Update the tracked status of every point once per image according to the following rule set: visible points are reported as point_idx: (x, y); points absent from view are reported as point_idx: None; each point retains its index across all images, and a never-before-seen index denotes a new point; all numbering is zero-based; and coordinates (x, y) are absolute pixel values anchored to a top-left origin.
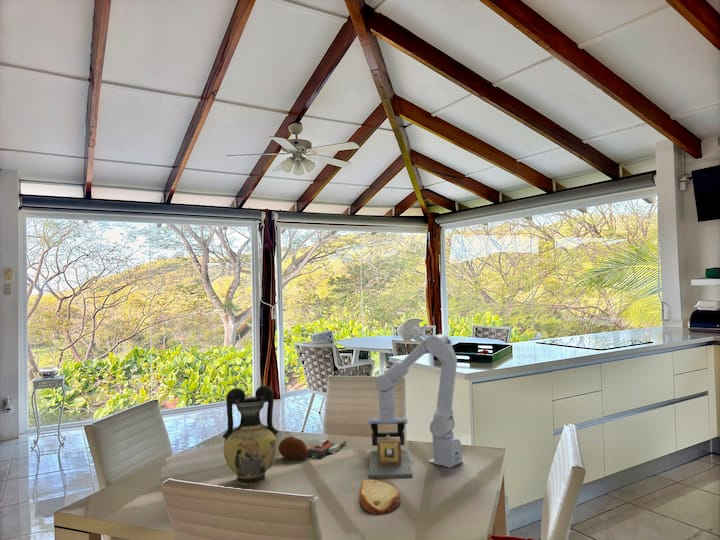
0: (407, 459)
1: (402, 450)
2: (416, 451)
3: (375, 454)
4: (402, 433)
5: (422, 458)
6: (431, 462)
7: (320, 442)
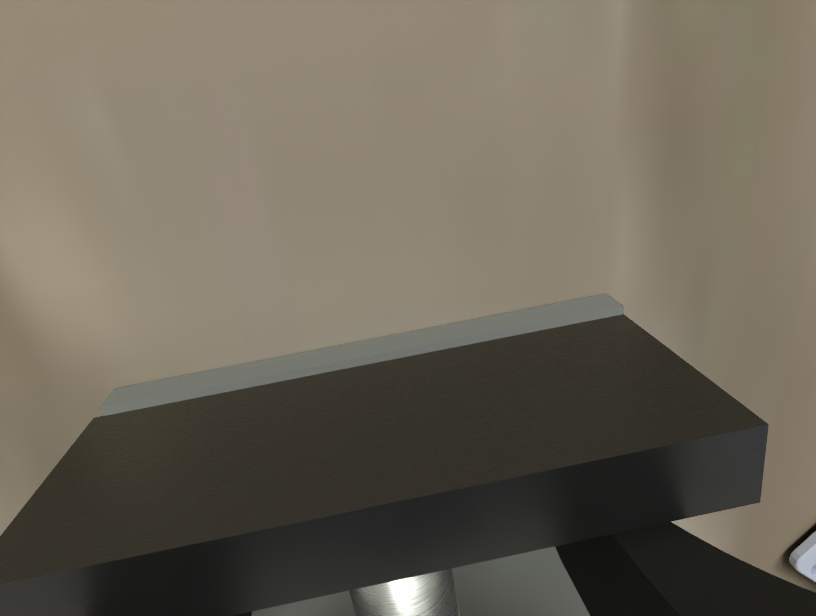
0: None
1: None
2: (726, 227)
3: None
4: (716, 494)
5: None
6: (811, 577)
7: None
